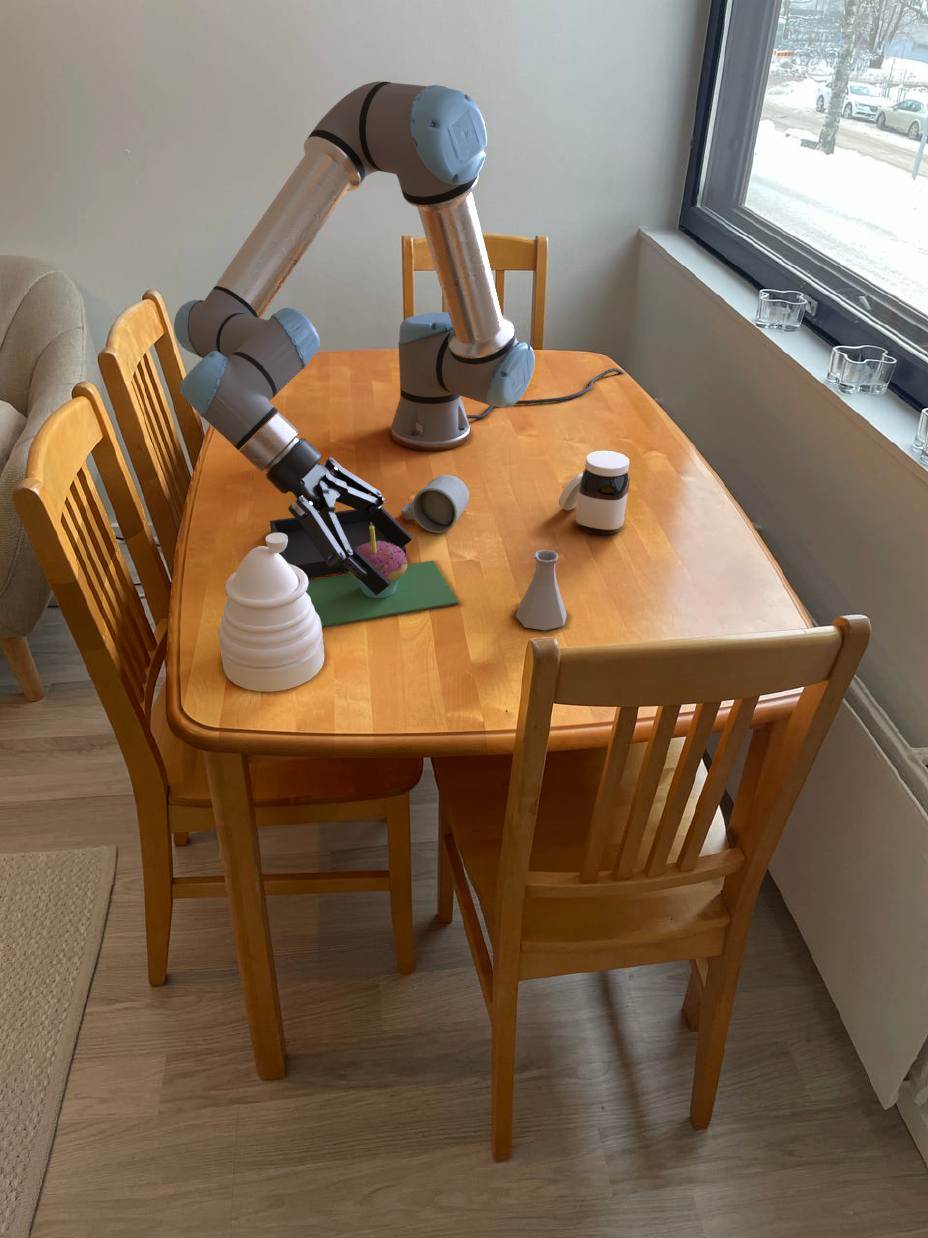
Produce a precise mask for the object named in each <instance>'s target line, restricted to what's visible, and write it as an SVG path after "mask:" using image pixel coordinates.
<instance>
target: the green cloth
mask: <svg viewBox="0 0 928 1238" xmlns="http://www.w3.org/2000/svg"><path fill="white" fill-rule="evenodd" d="M308 582H309V583H308V587H307V590H306V593H307V594H308V595H309V597H310V598H311V603H312V605H313V606H314V608H315V611H316V613H317V614H318V615H319V617H320V620H321V625H322V628H328V627H333V626H338V625H339V626H340V625H344V624H345V625H346V624H351V623H357V622H362V621H369V620H374V619H379V618H385V617H392V616H397V615H403V614H409V613H414V612H420V611H426V610H432V609H438V608H439V609H440V608H443V607H445V608H446V607H450V606H456V605H459V600H458V599H457V597H456V596H455V594H454V593H453V590H452V589H451V587H450V586H449V584H448V582H447V581H446V578H444V576H443V574H442V572H441V570H440V569H439V568H438V566H437V564H436V562H435V561H434V560H429V561H421V562H416V563H409V564H408V567H407V569H406V571H405V573H404V574H403V575H402V576H401V577H400V578H399V580H398V583H397V586H396V589H395V592H394V593H393V594H392V595H390V596H388V597H385V598H372V597H369V596H367V595H365V594H364V593H363V591H362V589H361V586H360V584H359V581H358V580H357V579H355V578H354V577H353V576H352V575H351V573H346V574H338V575H332V576H326V577H319V578H314V579H312V578H311V579H308Z"/></svg>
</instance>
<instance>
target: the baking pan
mask: <svg viewBox="0 0 928 1238" xmlns="http://www.w3.org/2000/svg"><path fill="white" fill-rule="evenodd" d="M334 513H335V515H336V517H337V519H338V521H339V524H340V526H341V528H342V530H343V532H344V534H345V536H346V538H347V541H348V543H349V545H350V547H351V549H352V551H353V550H354V549H355V547H359V546H361V545H363V544H365V543H368V542H369V541H371V539H370V529H369V527H370V526H371V524H370V523H372V522H370V521H369V520H368V518H369V517H370V516H371V515H372V514H370V515H369V514H366V513H364V512H361V511H359V510H356V509H354V508H352V509H346V510H339V511H334ZM372 526H374V531H375V541H379V540H380V541H385V542H388V543H391V544H393V543H392V542H391V541H390V540H389V539H388V538H387V537H386V536H385V535H384V534H383V533H382V532H381V531H380V530H379V529H378V528H377V527H376V526H375V525H374V524H373V523H372ZM269 529H270V530H269V531H270V534H272V533H284V534H286V535H287V536H288V542H287V546H286V548H285V549H284V551H282V552H280V553H279V554H280V555H281V556H282V557H283V558H284V560H285V561H286V562H287V563H288V564H291V565H294V566H296V567H298V568H299V569H301V570H302V571H303V572H304V573H305V574H306V575H307V578H308V579H312V578H316V577H324V576H330V575H337V574H338V575H339V574H343V573H350V571H349V570H348V569H347V568H346V567H345V566H344V565H342V564H340V565H339V566H338V567H333V568H331V567H329V566H328V565H327V563H326V562H325V560H324V559H323V557H322V556H321V554H320V553H319V551H318V549H317V548H316V546H315V545H314V543H313V542H312V540H311V539H310V537H309V536H308V534H307V533H306V531H305V530H304V528H303V527H302V525H301V523H300V522H299V521H298V520H297V519H296V518H295V517H294V516H293V517H287V518H279V519H273V520H272V519H271V520H269ZM393 545H394V544H393ZM401 549H402V550H403V552H404V553H405V555H406V556H407V547H406V545H405V546H404V547H403V548H401ZM342 550H343V549H342ZM331 556H332V555H331ZM297 578H298V577H297Z"/></svg>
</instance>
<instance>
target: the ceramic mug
mask: <svg viewBox="0 0 928 1238" xmlns="http://www.w3.org/2000/svg"><path fill="white" fill-rule="evenodd" d="M469 501H470V492H469V489H468V487H467V485H466V483H465V482H464V481H463V480H462V479H461V478H460V477H458V476H455V475H453V474H442V475H439V476H437V477H435V478H433V479H432V480H431V481H429V482H428V483H427V485H425V486H424V487H423V488H422V489H421V490H420V491H418V492H417V494H416V495H415V496H414V498H413V499H412V501H411V502H409V503H407V504H405V506H404V507H402V508H401V514H402V516H403V519H404V520H406V521H409V520H415V522H416V523H417V524H418V525H419V527H421V528H422V529H423V530H426V531H428V532H430V533H433V534H441V533H442V534H443V533H445V532H448V531H449V530H451V529H452V528H453V527H454V526H455V524H456V523H457V521H458V520H459V519H460V517H461V516H462V515H463V513H464V512H465V511H466V509H467V507H468V506H469Z"/></svg>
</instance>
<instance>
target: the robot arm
mask: <svg viewBox="0 0 928 1238" xmlns="http://www.w3.org/2000/svg"><path fill="white" fill-rule="evenodd" d="M487 145H488V135H487V128H486V123H485V120H484V116H483V115H482V112H481V110H480V107H478V105H477V103H476V102H475V101H474V99H472V97H470V96H469V95H468V94H466V93H464V92H463V91H461V90H458V89H453V88H449V87H447V86H444V85H438V84H432V85H419V84H410V83H409V84H408V83H400V82H399V83H398V82H391V81H382V80H381V81H379V80H377V81H373V82H369V83H365V84H363V85H361V86H359V87H357V88H355V89H354V90H352V91H350V92H349V93H348V94H346V95H345V96H344V97H342V98H341V99H340V100H339V101H338V102H337V103H335V104H334V106H333V107H332V108H330V109H329V111H328V112H327V113H326V114H324V116H323V117H322V118H321V120H319V121H318V123H317V124H316V126H315V127H314V128H313V130H312V131H311V133H309V135H308V137H307V138H306V139H305V141H304V142H303V152H304V155H303V157H302V158H301V160H300V161H299V162H298V164H297V166H296V167H295V169H294V170H293V172H292V173H291V174H290V176H289V177H288V179H287V180H286V181H285V183H284V184H283V186H282V187H281V189H280V190H279V192H278V193H277V194H276V196H275V197H274V199H273V201H271V203H270V205H269V206H268V207H267V209H266V211H264V214H263V215H262V217H261V218H260V220H258V222H257V224H256V225H255V226H254V228H253V229H252V231H251V233H250V234H249V235H248V237H247V238H246V239H245V241H244V242H243V244H242V245H241V246H240V248H239V250H238V251H237V253H236V254H235V256H233V259H232V260H231V261H230V263H229V264H228V265H227V267H226V269H225V270H224V271H223V273H222V274H221V275H220V277H219V279H218V280H217V282H216V283H215V285H214V286H213V287H212V288H211V289H212V290H210V292H209V293H208V294H207V296H206V298H205V299H193V300H190V301H187V302H186V303H184V304H182V305H181V306H180V307H179V309H178V310H177V312H176V314H175V317H174V322H173V330H174V334H175V338H176V340H177V342H178V343H179V344H180V346H181V347H182V348H183V349H184V350H186V351H187V352H189V353H191V354H193V355H194V356H195V355H196V356H198V357H199V358H202V359H201V360H199V362H197V364H195V366H194V367H193V368H192V369H191V370H190V371H189V372H188V373H187V374H186V375H185V377H184V378H183V379H182V381H181V382H180V384H179V391H180V394H181V395H182V397H183V398H184V399H185V400H186V401H187V403H188V404H190V406H191V407H192V408H193V409H194V410H195V411H196V412H197V413H198V415H199V416H200V417H201V418H203V419H204V420H205V421H206V422H207V423H208V424H210V425H211V426H212V427H213V428H214V429H215V430H216V431H217V432H218V433H219V434H221V435H222V437H224V438H225V440H227V441H228V442H229V443H230V444H231V445H232V446H233V447H234V448H235V449H236V450H237V451H239V453H241V454H242V455H243V456H244V458H245V459H246V460H247V461H249V463H251V464H252V465H253V466H254V468H256V469H257V470H258V471H259V472H263V471H265V472H266V473H265V478H266V479H267V481H269V482H270V483H271V484H272V485H273V486H274V487H275V488H276V489H277V490H278V491H279V492H280V493H282V494H284V495H285V494H287V493H289V492H290V493H292V494H293V496H294V497H295V498H296V500H294V501H293V502H292V503H291V504H290V505H289V506H288V507H287V510H288V512H289V513H290V514H291V515H292V516H293V518H294V517H295V518H296V519H297V520H298V521H299V522H300V523H301V525H302V527H303V528H304V530H305V531H306V533H307V534H308V536H309V537H310V539H311V540H312V542H313V543H314V545H315V546H316V548H317V549H318V551H319V553H320V554H321V556H322V557H323V559H324V560H325V562H326V563H327V565H328V566H329V567H331V568H333V567H338V566H339V565H340V564H342V565H344V566H345V567H346V568H347V569H348V570H349V571H350V572H351V573H352V574H353V575H354V576H355V577H356V578H358V579H359V580H361V581H362V582H363V583H364V584H365V585H366V586H367V587H368V588H369V589H370V590H371V591H372V592H373V593H374V594H375V595H378V594H379V593H380V592H382V591H383V590H384V589H386V588H387V587H388V586H389V585H390V583H391V582H390V581H389V580H388V579H387V578H386V577H385V576H384V575H383V574H382V573H381V572H380V571H379V570H378V569H377V568H375V567H374V566H373V565H372V564H371V563H370V562H369V561H368V560H367V559H366V558H365V557H364V556H363V555H362V554H361V553H360V552H359V551H358V550H357V549H356V550H355V551H354V552H353V551H352V549H351V547H350V545H349V543H348V541H347V538H346V536H345V534H344V532H343V530H342V528H341V526H340V524H339V521H338V519H337V517H336V515H335V513H334V512H336V506H335V504H336V503H339V504H342V505H344V506H346V507H349V508H351V509H356V510H359V511H361V512H364V513H366V514H369V515H370V514H372V515H371V516H370V517H369V518H368V520H369V521H370V522H372V523H373V524H374V525H375V526H376V527H377V528H378V529H379V530H380V531H381V532H382V533H383V534H384V535H385V536H386V537H387V538H388V539H389V540H390V541H391V542H392V543H393V544H394V545H395V546H397V547H399V548H403V547H404V546H405V547H406V546H407V545H408V544H409V543H411V542H412V541H413V539H414V537H413V536H412V535H411V534H410V533H409V531H407V530H406V529H405V528H404V527H403V526H402V525H401V524H400V523H399V522H398V521H397V519H395V518H394V517H393V516H392V514H390V513H389V512H388V511H387V510H386V509H385V508H384V507H383V506H382V505H384V504H385V503H386V499H385V498H384V496H383V494H382V492H381V491H380V490H379V489H377V488H375V487H374V486H373V485H371V484H370V483H368V482H367V481H365V480H363V479H361V478H360V477H359V476H357V475H356V474H353V472H350V471H349V470H347V469H346V468H344V467H343V466H342V465H341V464H340V463H339V462H337V461H336V459H335V458H333V457H331V456H330V457H328V459H326V460H325V461H324V462H323V463H322V464H320V461H321V460H322V453H321V452H320V451H319V450H318V449H317V448H316V447H315V446H314V445H313V444H312V443H311V442H310V441H309V440H308V439H307V438H306V437H305V438H304V437H301V438H300V437H299V435H300V431H299V429H297V428H296V426H294V425H293V424H292V423H291V422H290V421H289V420H288V419H287V418H286V417H285V416H284V415H283V414H282V413H281V412H280V411H278V410H279V409H277V408H276V407H275V406H274V405H273V404H272V403H271V401H272V400H273V399H274V398H275V397H276V395H277V394H278V393H280V392H281V391H282V390H283V388H285V387H286V386H287V385H288V384H289V383H290V382H291V381H292V380H293V379H295V377H296V376H297V375H298V374H299V373H300V372H302V371H303V370H305V369H306V367H307V365H308V363H310V361H312V359H313V358H314V357H315V356H316V354H317V353H318V352H319V350H320V347H321V340H320V336H319V334H318V333H317V330H316V327H315V326H314V324H313V323H312V322H311V320H309V319H308V317H306V316H305V315H304V314H303V313H302V312H300V311H299V310H297V309H295V308H293V307H283V308H280V309H279V310H278V311H277V312H275V313H273V314H271V316H270V317H269V318H268V319H264V318H262V317H263V315H264V314H265V312H266V311H267V310H268V308H269V306H270V305H271V303H272V302H273V301H274V299H275V298H276V296H277V295H278V293H279V292H280V290H281V289H282V287H283V286H284V285H285V283H286V281H287V280H288V279H289V278H290V275H291V274H292V273H293V271H294V270H295V268H296V267H297V265H298V264H299V262H300V261H301V259H302V258H303V257H304V255H305V254H306V252H307V251H308V249H309V248H310V247H311V245H312V243H313V242H314V241H315V239H316V237H317V236H318V235H319V233H320V231H321V230H322V228H323V227H324V225H325V224H326V223H327V221H328V220H329V218H330V217H331V215H332V214H333V212H334V211H335V210H336V208H337V207H338V205H339V203H340V202H341V201H342V200H343V198H344V196H345V195H346V194H347V192H352V191H356V190H357V189H358V188H359V187H360V185H362V183H363V181H364V180H365V178H366V177H368V176H370V175H372V174H374V173H377V172H382V173H387V174H393V175H396V177H397V180H398V183H399V186H400V191H401V194H402V197H403V199H404V200H405V201H406V202H407V203H408V204H409V205H412V206H413V207H416V208H417V212H418V215H419V219H420V221H421V225H422V229H423V233H424V235H425V238H426V242H427V245H428V249H429V252H430V256H431V259H432V263H433V265H434V270H435V272H436V276H437V280H438V283H439V287H440V291H441V293H442V296H443V300H444V303H445V307H446V311H436V312H427V313H426V312H425V313H420V314H416V315H412V316H410V317H407V318H405V319H404V320H403V321H402V322H401V324H400V325H399V332H398V333H399V335H398V336H399V337H398V364H399V366H398V367H399V399H398V403H397V407H396V410H395V413H394V416H393V418H392V421H391V438H392V440H394V441H395V443H397V444H398V445H401V446H403V447H406V448H408V449H413V450H416V451H417V450H419V451H428V452H429V451H444V450H450V449H454V448H457V447H459V446H461V445H463V444H465V443H467V441H468V440H469V439H470V434H471V433H470V432H471V430H470V429H471V428H470V427H471V426H470V423H469V420H470V419H471V420H472V419H475V420H481V419H484V418H485V417H487V416H488V415H489V413H490V412H491V411H492V409H494V408H497V407H498V408H502V409H503V408H505V409H506V408H510V407H512V406H514V405H527V404H528V405H529V404H530V405H532V404H545V403H555V402H563V401H567V400H571V399H574V398H578V397H580V396H582V395H584V394H585V393H587V392H589V391H590V390H591V388H592V387H593V384H594V383H595V382H597V381H598V380H600V379H601V378H603V377H605V376H606V375H608V374H611V373H614V372H616V373H618V374H619V375H624V372H623V371H622V369H620V368H616V367H613V368H609V369H607V370H604V371H602V372H601V373H599V374H598V375H596V376H595V377H593V378H592V379H591V380H590V381H589V384H588V385H587V386H586V387H585V388H584V389H581V391H578V392H576V393H573V394H572V393H571V394H568V395H565V396H560V397H553V398H552V397H551V398H539V399H538V398H537V399H523V400H521V398H522V397H523V396H524V395H525V393H526V392H527V390H528V387H529V385H530V383H531V381H532V378H533V374H534V371H535V364H536V358H535V357H536V355H535V351H534V350H533V348H532V346H531V345H529V344H527V343H526V342H525V341H521V342H520V341H518V339H517V336H516V331H515V327H514V324H513V322H512V320H511V319H510V318H509V317H507V316H506V315H503V314H502V311H501V306H500V303H499V298H498V294H497V290H496V286H495V281H494V277H493V273H492V269H491V265H490V261H489V256H488V252H487V249H486V248H487V247H486V245H485V244H486V243H485V240H484V236H483V232H482V227H481V223H480V219H479V216H478V211H477V207H476V203H475V198H474V194H473V189H474V188H475V186H476V184H477V183H478V180H479V173H480V171H481V170H482V168H483V165H484V162H485V160H486V155H487V154H486V152H485V150H484V149H485V148H486V147H487ZM462 397H463V398H466V399H469V400H473V401H475V402H479V403H481V404H484V405H487V406H489V407H488V408H487V409H485V412H483V413H481V414H467V413H466V409H465V406H464V403H463V400H462ZM342 549H343V550H342ZM331 555H332V556H331ZM350 572H349V573H350ZM351 573H350V574H351Z"/></svg>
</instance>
